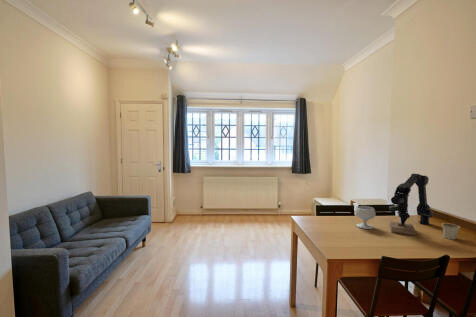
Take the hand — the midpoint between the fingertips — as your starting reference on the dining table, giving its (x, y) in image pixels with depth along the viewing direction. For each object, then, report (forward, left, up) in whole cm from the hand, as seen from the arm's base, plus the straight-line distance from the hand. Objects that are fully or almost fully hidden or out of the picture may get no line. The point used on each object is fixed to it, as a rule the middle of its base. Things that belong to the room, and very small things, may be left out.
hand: (402, 223), depth 176 cm
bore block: (0, 0, -5) cm, 5 cm away
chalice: (+2, -24, -6) cm, 25 cm away
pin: (0, 0, -3) cm, 3 cm away
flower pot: (+1, +27, -6) cm, 27 cm away
